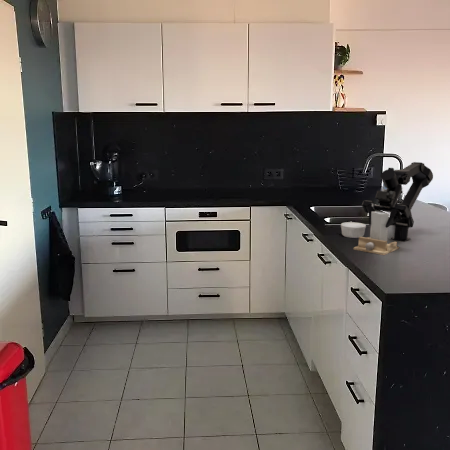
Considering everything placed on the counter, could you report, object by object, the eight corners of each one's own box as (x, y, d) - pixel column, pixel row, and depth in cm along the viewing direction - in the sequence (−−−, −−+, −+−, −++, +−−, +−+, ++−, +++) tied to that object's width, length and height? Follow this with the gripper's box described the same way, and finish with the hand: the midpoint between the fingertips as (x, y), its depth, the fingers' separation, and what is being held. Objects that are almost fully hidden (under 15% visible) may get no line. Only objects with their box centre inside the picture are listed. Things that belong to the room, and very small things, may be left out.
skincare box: (387, 242, 205) (390, 213, 202) (378, 243, 203) (381, 214, 200) (377, 238, 210) (380, 210, 207) (368, 239, 208) (371, 211, 206)
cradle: (369, 243, 215) (370, 232, 214) (398, 248, 207) (399, 237, 206) (353, 249, 205) (354, 237, 204) (383, 255, 197) (384, 243, 196)
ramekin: (347, 239, 223) (348, 227, 222) (335, 233, 234) (336, 222, 233) (370, 237, 226) (371, 226, 225) (357, 232, 237) (358, 221, 235)
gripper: (365, 181, 210) (350, 211, 205) (408, 185, 198) (394, 217, 192) (372, 197, 218) (358, 226, 212) (415, 202, 205) (401, 233, 200)
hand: (377, 225), depth 204 cm, fingers closed on skincare box, 7 cm apart
